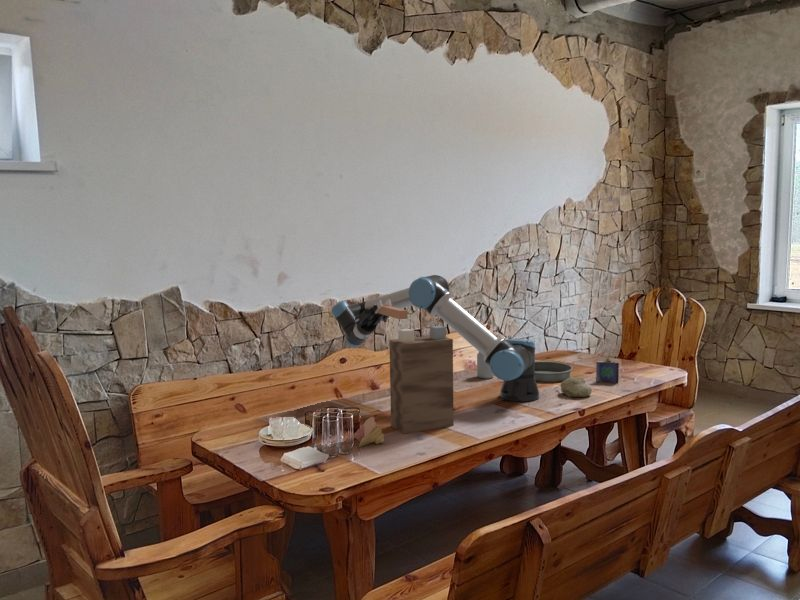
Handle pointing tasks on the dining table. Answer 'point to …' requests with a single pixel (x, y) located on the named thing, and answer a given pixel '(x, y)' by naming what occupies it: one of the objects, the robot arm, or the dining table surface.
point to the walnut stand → (421, 384)
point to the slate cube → (437, 332)
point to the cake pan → (551, 371)
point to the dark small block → (607, 371)
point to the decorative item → (575, 387)
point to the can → (483, 368)
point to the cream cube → (406, 335)
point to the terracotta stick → (393, 312)
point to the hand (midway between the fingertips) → (385, 302)
